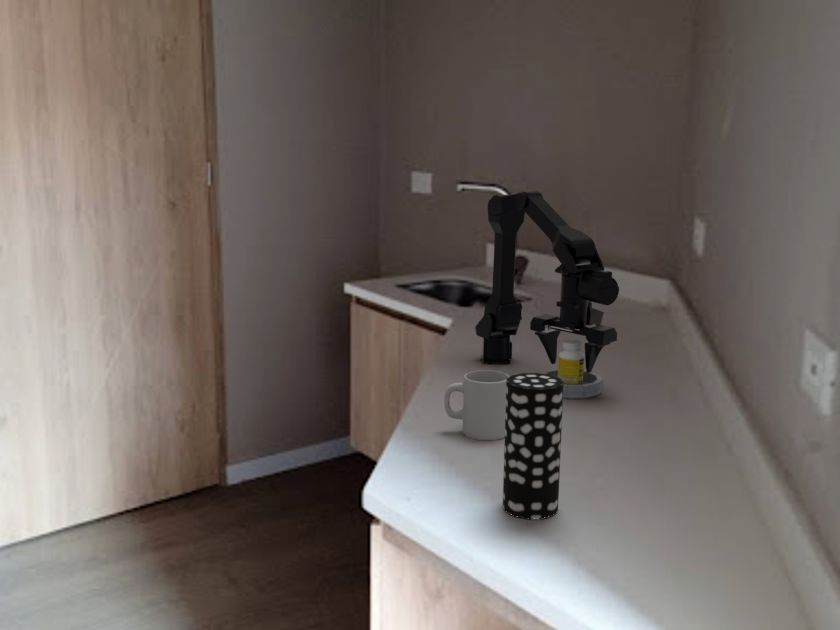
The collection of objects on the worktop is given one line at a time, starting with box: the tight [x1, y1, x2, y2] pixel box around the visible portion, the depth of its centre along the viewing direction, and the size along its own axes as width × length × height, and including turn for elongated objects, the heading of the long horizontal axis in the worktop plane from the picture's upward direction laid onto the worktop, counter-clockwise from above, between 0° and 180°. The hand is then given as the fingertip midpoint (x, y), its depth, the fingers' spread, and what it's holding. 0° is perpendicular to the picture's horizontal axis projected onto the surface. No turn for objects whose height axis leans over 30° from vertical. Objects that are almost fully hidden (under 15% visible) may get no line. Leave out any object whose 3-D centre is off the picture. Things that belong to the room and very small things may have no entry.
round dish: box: [541, 368, 603, 400], centre depth 197 cm, size 13×13×3 cm
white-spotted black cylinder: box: [502, 372, 564, 520], centre depth 137 cm, size 8×8×20 cm
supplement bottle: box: [557, 339, 585, 385], centre depth 197 cm, size 5×5×10 cm
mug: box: [443, 369, 510, 441], centre depth 170 cm, size 12×8×11 cm
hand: (570, 368), depth 197 cm, fingers open, 9 cm apart
